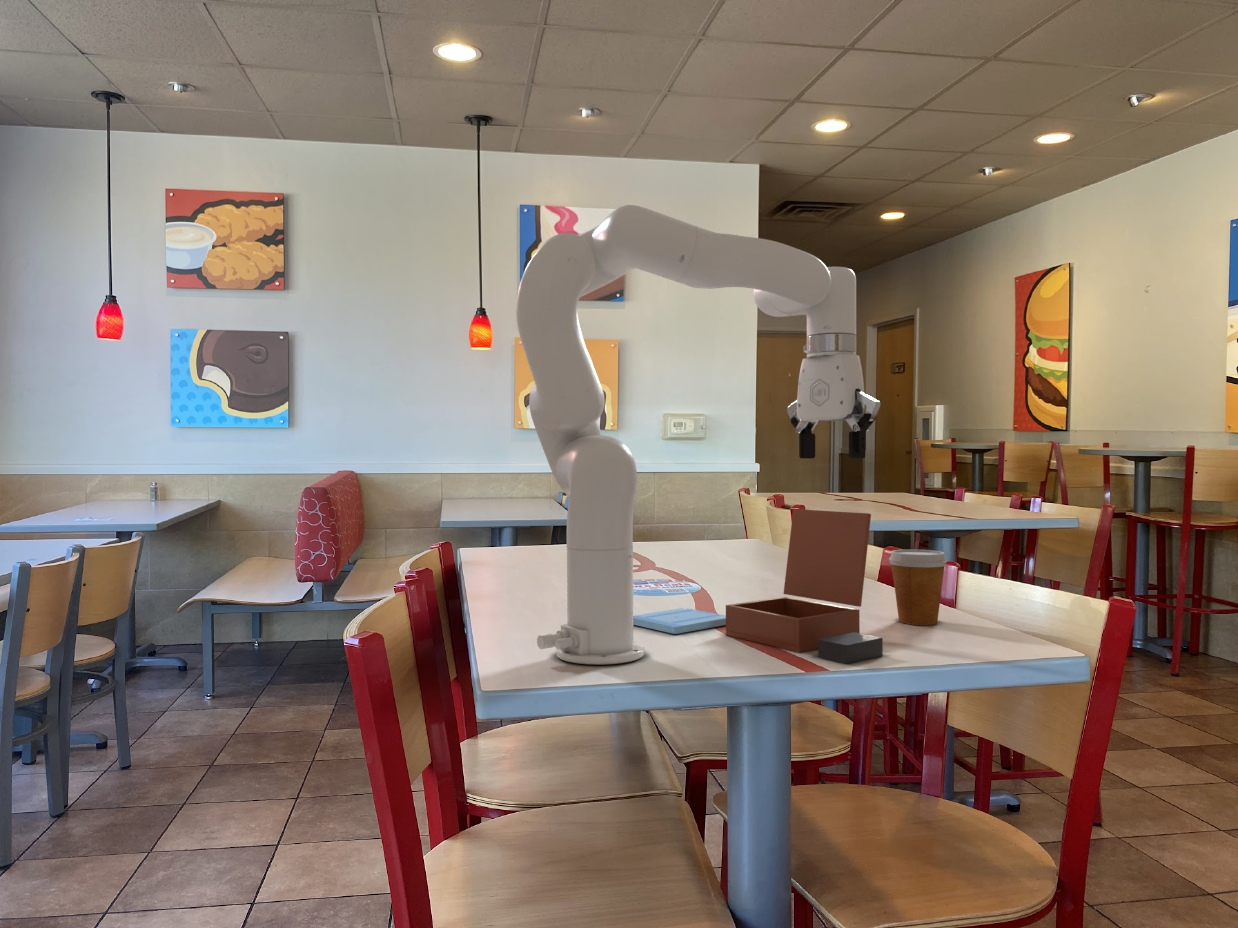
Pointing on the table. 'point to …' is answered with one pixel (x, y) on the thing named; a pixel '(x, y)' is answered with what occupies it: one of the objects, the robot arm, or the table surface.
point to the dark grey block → (850, 647)
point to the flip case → (789, 622)
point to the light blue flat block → (679, 620)
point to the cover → (827, 556)
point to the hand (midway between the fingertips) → (831, 458)
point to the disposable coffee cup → (918, 584)
